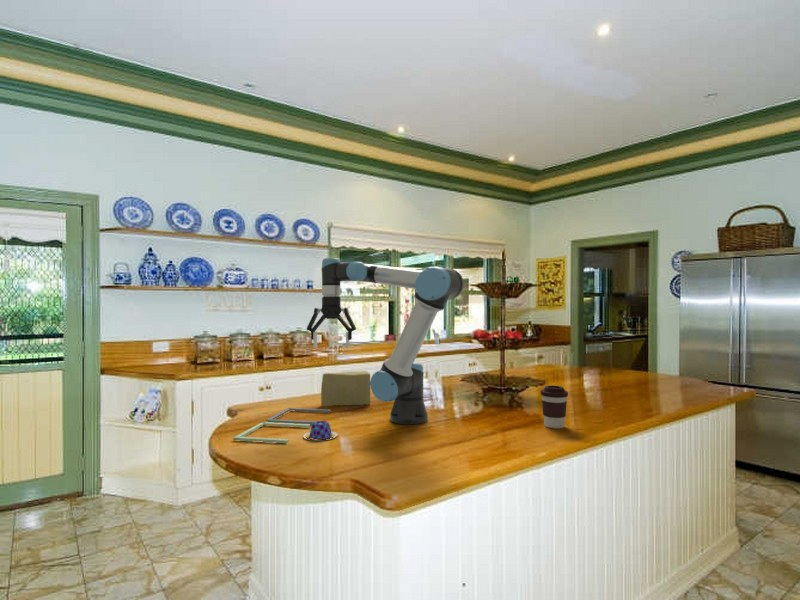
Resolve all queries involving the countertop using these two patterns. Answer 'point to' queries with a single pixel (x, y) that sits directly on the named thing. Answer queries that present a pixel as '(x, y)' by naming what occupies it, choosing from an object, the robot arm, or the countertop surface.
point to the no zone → (296, 420)
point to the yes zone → (242, 438)
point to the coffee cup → (554, 406)
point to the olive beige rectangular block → (345, 388)
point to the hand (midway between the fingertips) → (331, 348)
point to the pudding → (320, 430)
